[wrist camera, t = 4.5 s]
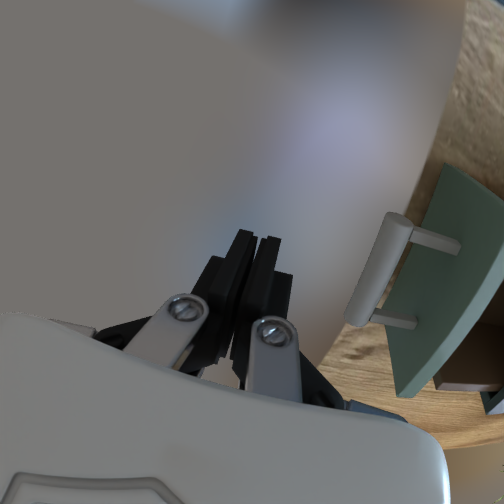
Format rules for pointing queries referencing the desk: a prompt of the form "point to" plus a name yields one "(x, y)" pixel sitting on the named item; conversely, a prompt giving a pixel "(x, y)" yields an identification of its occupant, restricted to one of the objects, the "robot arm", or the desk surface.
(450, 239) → the drawer
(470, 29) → the desk surface
